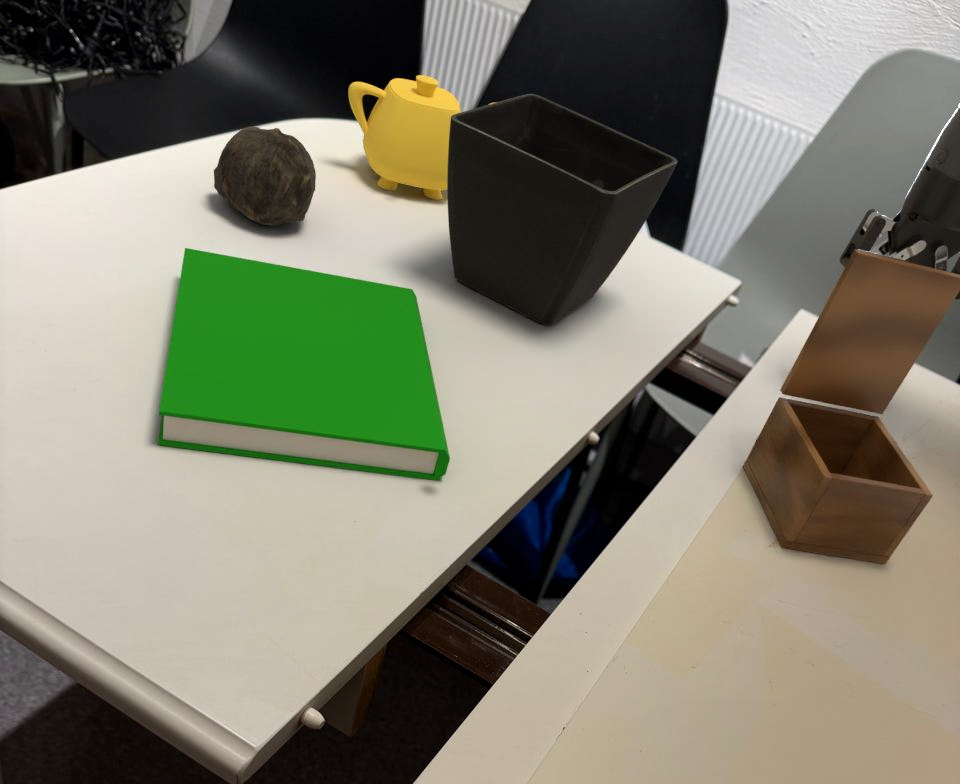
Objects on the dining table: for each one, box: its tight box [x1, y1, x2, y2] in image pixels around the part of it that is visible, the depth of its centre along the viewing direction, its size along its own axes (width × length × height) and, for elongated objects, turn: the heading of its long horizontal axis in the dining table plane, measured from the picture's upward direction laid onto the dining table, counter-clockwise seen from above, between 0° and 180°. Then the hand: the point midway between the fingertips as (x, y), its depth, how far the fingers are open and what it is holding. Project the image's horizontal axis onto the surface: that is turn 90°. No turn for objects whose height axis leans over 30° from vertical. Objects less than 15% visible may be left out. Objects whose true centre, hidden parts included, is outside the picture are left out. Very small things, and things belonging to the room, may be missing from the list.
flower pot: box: [446, 93, 678, 326], centre depth 106 cm, size 19×19×17 cm
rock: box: [213, 126, 317, 227], centre depth 105 cm, size 10×11×10 cm
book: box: [157, 247, 451, 481], centre depth 86 cm, size 22×28×3 cm
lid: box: [780, 249, 960, 415], centre depth 88 cm, size 14×11×6 cm
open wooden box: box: [742, 396, 934, 565], centre depth 89 cm, size 13×11×8 cm
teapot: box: [347, 74, 498, 201], centre depth 123 cm, size 13×20×12 cm
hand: (877, 319), depth 107 cm, fingers open, 8 cm apart
